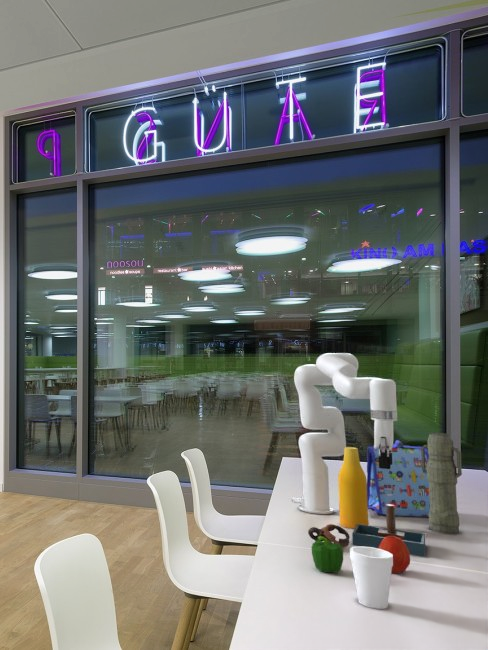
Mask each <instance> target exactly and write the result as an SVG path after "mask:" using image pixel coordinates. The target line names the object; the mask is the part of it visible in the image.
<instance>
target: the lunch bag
mask: <svg viewBox="0 0 488 650" xmlns="http://www.w3.org/2000/svg"><path fill="white" fill-rule="evenodd" d="M422 447H423V446H415V445H414V446H410V445H404V444H403V442H402V441H400V440H398V439H397V440H395V442H394V443H393V448H392V449H391V453H392V465H390V467H391V468H390V469H382V468H379V448H377V449H375V448H374V445H373V446H372V445H371V446H368V447H367V451H366V452H367V453H366V454H367V457H366V459H367V461H366V474H367V475H366V479H367V503H368V510H369V509H373V510H374V511H375V513H376V514H378V516H380V515H383V516H387V515H386V504H391V505H394V506H395V517H396V516H397V517H418V518H419V517H420V518H421V517H422V518H424V517H425V518H429V510H430V494H429V482H428V480H427V474H426V473H423V470H422V454H421V448H422ZM428 458H429V454H428V448H426V447H425V471H426V470H427V463H428Z"/></svg>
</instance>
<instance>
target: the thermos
mask: <svg viewBox="0 0 488 650" xmlns="http://www.w3.org/2000/svg"><path fill="white" fill-rule="evenodd" d="M426 441H427V444H424V445H422V446H421V447H422V448H421V454H422V470H423V473H426V474H427V480H428V482H429V494H430V510H429V517H428V522H429V530H430V531H433V532H437V533H441V534H448V535H458V534H460V526H461V523H460V515H459V512H458V502H457V484H458V478H460V477H461V476H462V475H463V472H462V451H461V450H460V449H459V448H458V447H455V446H454V441H453V439H452V436H451V434H448V433H445V432H444V433H443V432H432V433H429V435H428V438H427V440H426ZM425 448H426V449H427V450H428V454H429V458H428V463H427V470H426V471H425ZM455 453H456V464H455V459H454V456H455Z"/></svg>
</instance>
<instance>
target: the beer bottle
mask: <svg viewBox="0 0 488 650" xmlns="http://www.w3.org/2000/svg"><path fill="white" fill-rule="evenodd" d="M337 479H338V480H337V481H338V507H339V524H340V526H341V527H342V528H346V529H352V530H354V529H355V527H356V525H357V524H361V525H368V526H370V525H369V524H370V523H369V522H370V521H369V509H368V503H367V475H366V473H365V471H364V469H363V467H362V466H361V461H360V454H359V450H358V447H354V446H353V447H352V446H346V447H345V450H344V454H343V462H342V465H341V467H340V469H339V471H338V476H337Z"/></svg>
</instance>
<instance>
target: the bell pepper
mask: <svg viewBox="0 0 488 650" xmlns="http://www.w3.org/2000/svg"><path fill="white" fill-rule="evenodd" d="M318 539H319V540H317V541H314V542H313V543H312V545H311V554H312V559H313V563H314V566H315V568H316V570H318V571H319V572H323V573H335V574H337V573H340V571H341V569H342V567H343V562H344V548H342V547H341V545H339V544H334V543H333V542H330V541H327V539H326V538H325V537H322V536H319V537H318ZM321 539H323V540H324V541H320V540H321Z"/></svg>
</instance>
